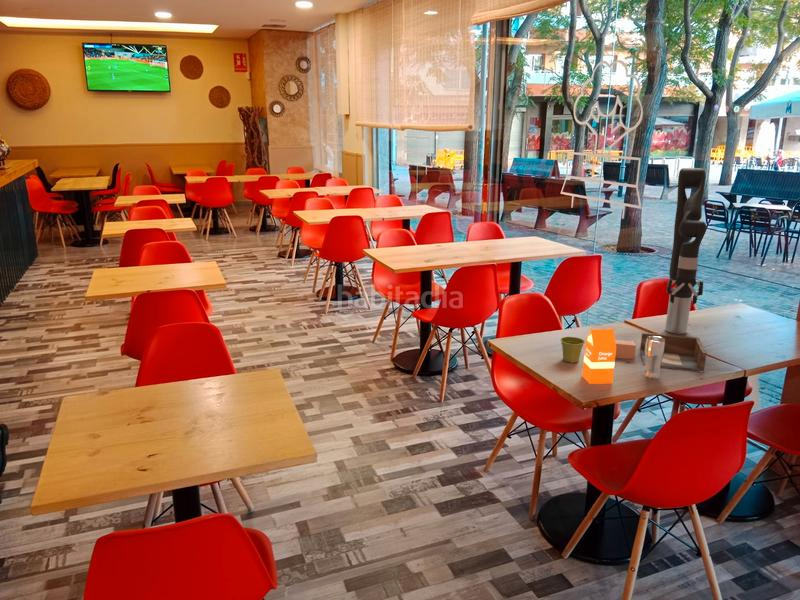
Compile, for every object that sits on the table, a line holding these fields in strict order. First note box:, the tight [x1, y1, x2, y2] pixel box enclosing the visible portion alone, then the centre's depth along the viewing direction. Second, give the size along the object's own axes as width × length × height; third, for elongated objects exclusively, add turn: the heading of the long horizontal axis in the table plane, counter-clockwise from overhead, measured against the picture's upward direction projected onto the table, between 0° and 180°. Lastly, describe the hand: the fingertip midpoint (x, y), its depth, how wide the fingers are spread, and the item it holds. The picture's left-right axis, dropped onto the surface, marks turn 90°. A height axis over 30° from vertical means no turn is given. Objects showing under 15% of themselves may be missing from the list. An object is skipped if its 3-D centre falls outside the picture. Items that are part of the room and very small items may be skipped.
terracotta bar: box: [615, 339, 637, 360], centre depth 255 cm, size 10×5×6 cm, turn 74°
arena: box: [639, 331, 707, 373], centre depth 249 cm, size 18×22×8 cm
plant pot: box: [560, 336, 586, 364], centre depth 249 cm, size 9×9×9 cm
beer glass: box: [642, 336, 665, 380], centre depth 233 cm, size 7×7×15 cm
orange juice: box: [581, 328, 616, 385], centre depth 229 cm, size 8×9×20 cm
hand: (682, 303), depth 268 cm, fingers open, 8 cm apart
